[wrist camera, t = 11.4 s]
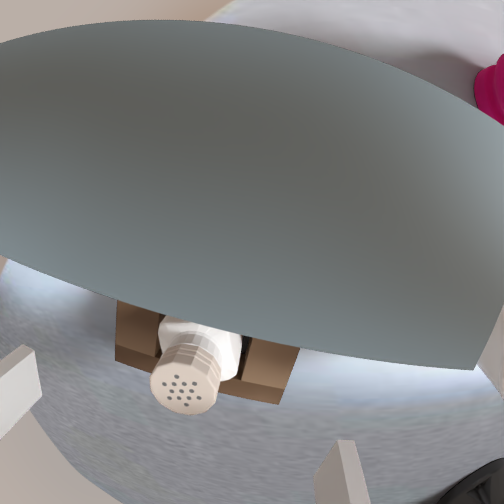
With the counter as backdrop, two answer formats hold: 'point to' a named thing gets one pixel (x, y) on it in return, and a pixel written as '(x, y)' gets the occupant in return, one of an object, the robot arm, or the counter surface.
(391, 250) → the socket stand
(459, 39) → the counter surface
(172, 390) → the salt shaker
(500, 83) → the pepper mill
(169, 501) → the counter surface
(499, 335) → the candle holder
